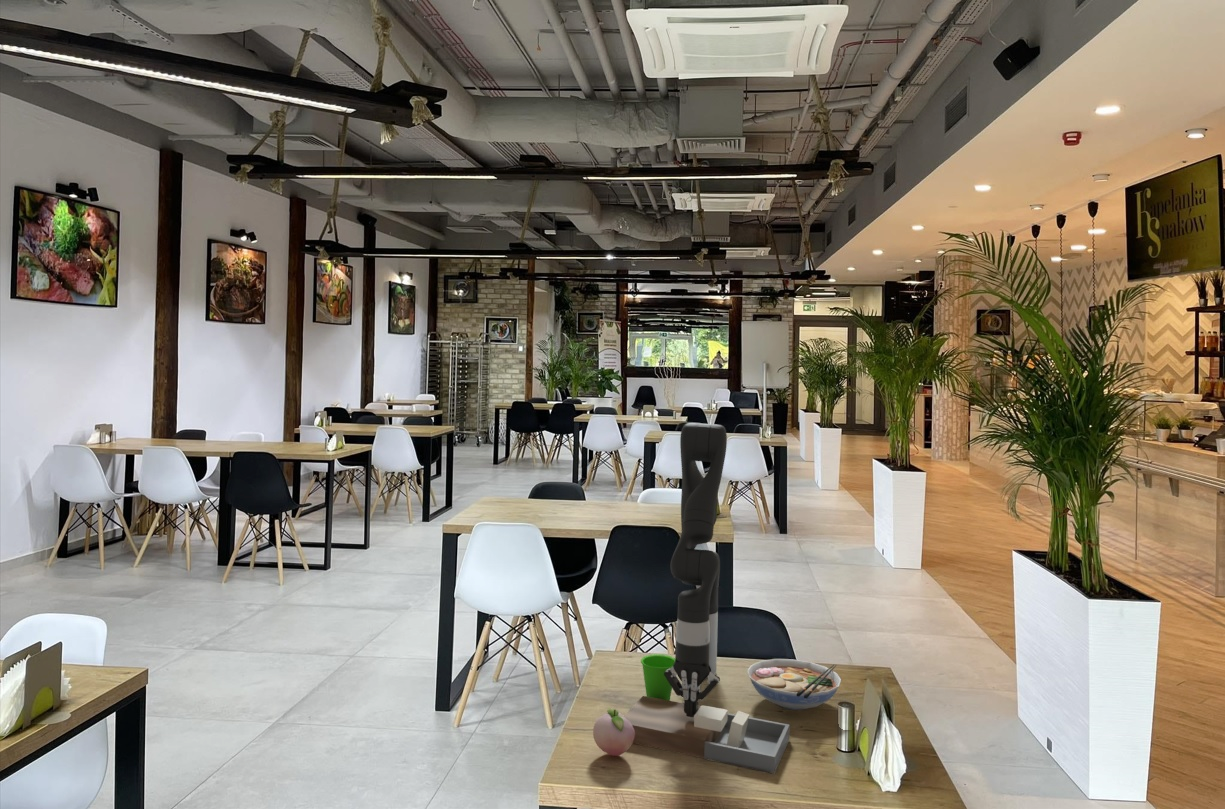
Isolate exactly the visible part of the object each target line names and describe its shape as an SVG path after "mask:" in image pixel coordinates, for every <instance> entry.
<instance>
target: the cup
mask: <svg viewBox="0 0 1225 809" xmlns="http://www.w3.org/2000/svg"><path fill="white" fill-rule="evenodd" d="M674 662H675V657H673V656H670V655H666V654H649V655H646V656H643V657H641V660H640V663H641V665H642V672H643V680H644V685H645V694H646V695H645V696H647V697H652V698H658V699H663V700H668V701H671V694H672V690H673V688H672V687H671V685H670V684H669V682H668V681H667V679H666V677H665V676H664V672H665V671H666V670H667V669H669V668H672V667H673V664H674Z"/></svg>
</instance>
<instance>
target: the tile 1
mask: <svg viewBox="0 0 1225 809" xmlns="http://www.w3.org/2000/svg"><path fill="white" fill-rule="evenodd" d="M728 713H729V710H728V709H724V708H720V707H714V706H708V705H701V707H700V708H699V710H698V711H697V713H696V714H695V715H694V727H698V728H703V729H708V730H714V731H719V732H721V731H722V729H723V728H724V726H725V724H726V722H727V718H728Z"/></svg>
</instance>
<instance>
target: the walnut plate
mask: <svg viewBox="0 0 1225 809" xmlns="http://www.w3.org/2000/svg"><path fill="white" fill-rule="evenodd" d="M700 707H701V706H700V705H698V710H699V708H700ZM623 716H624V717H625V718H626V719H627V720H629V721H630V723H631V724H632V726H633V728H634V731H635V737H634V741H633V743H632V744H635V745H638V746H639V745H640V746H644V747H648V748H649V747H650V748H653V749H657V750H658V749H659V750H663V751H669V752H672V753H677V754H682V755H687V756H692V757H696V758H701V759H704V750H705V741H708V742H714V741H715V739H716V738H717V736H718V735H719V733H720V732H719V731H714V730H708V729H703V728H698V727H694V717H688V716H686V713H685V712H684V702H679V701H673V700H670V701H668V700H663V699H658V698H652V697H647V695H642V696H641V697H640V698H639V699H638V700H637V701H636V702H635V704H634V705H632V707H631V708H630V709H629V710H627V712H626V713H625V714H623Z"/></svg>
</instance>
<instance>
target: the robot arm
mask: <svg viewBox="0 0 1225 809" xmlns="http://www.w3.org/2000/svg"><path fill="white" fill-rule="evenodd" d="M727 436H728V435H727V429H726V427H725V426H724V425H722V424H716V423H715V424H714V423H701V422H699V423H698V422H688V423H685V424H684V425H683V427H682V428H681V432H680V437H679V439H680V442H679V444H680V461H681V462H680V463H681V464H680V465H681V500H680V519H681V520H680V521H681V522H680V524H681V534H680V537H679V540H678V543H677V545H676V546H675V550H674V552H673V554H672V557H671V560H670V564H669V566H670V568H669V569H670V571H671V572H670V573H671V574H672V576H673V578H674V579H676V580H678V581H681V582H682V583H683V584H684V585H687V586H699V587H697V588H695V589H694V588H693V589H687V590H683V591H681V592H680V593H679V594H678V597H677V620H676V621H677V622H676V626H675V635H674V636H675V655H674V656H675V657H674V658H675V662H674V664H673V667H672V668H669V669H667V670H666V671H665V672H664V676H665V677H666V679H667V681H668V682H669V684H670V685H671V687H672V690H673V691H674V693H675V694H676V696H678V697H681V698H683V703H684V712H685V713H686V716H688V717H694V715H695V714H696V713H697V711H698V706H699V701H703V700H704V699H705V698H706V697H707V696H708V695H709V694H710V693H711V692H712V691H713V689H714V688H715V687H716V686H718V684H719V682H720V681H721V678H720V676H717V666H718V664H717V659H718V658H717V657H718V628H719V627H718V624H719V623H718V620H719V619H718V618H719V617H718V616H719V587H720V586H719V584H720V573H721V560H720V559H721V558H720V555H719V554H718V553H717V552H716V551H714V550H709V549H698V548H697V549H696V547H697V546H698V545H701V544H707V543H709V542H711V541H712V539H713V536H714V528H715V527H714V526H715V525H716V522H717V516H718V493H719V489H720V486H721V480H722V476H723V470H724V466H725V465H724V464H725V460H726V454H727V444H728V443H727V441H728V437H727ZM697 462H705V463H710V464H709V469H708V471H707V473H706V474H705V476H703V475H702V473H701V471H700V470H699V468H698V464H697ZM706 679H707V686H706V687H705V688H704V689H703V690H702V691H701V690H700V689H701V685H702V683H704V681H705V680H706Z"/></svg>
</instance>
